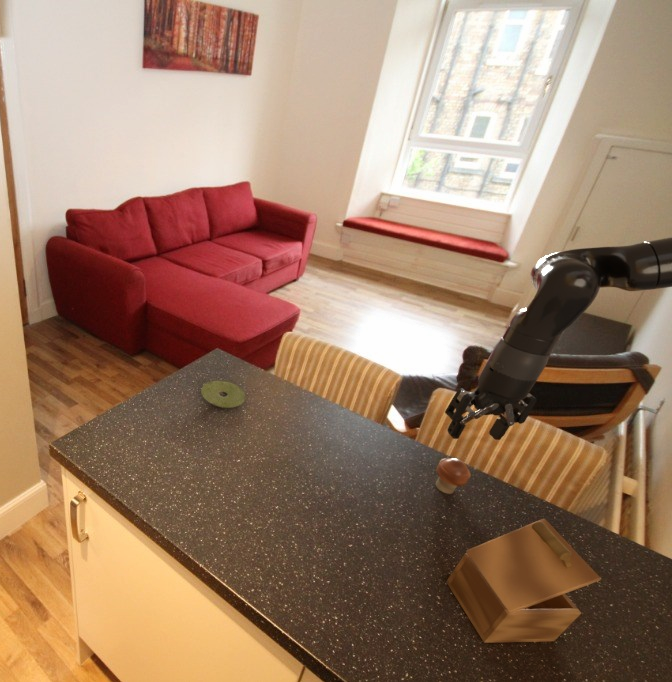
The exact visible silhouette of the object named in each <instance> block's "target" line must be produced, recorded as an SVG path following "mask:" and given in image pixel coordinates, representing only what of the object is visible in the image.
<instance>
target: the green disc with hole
mask: <svg viewBox="0 0 672 682" xmlns="http://www.w3.org/2000/svg"><path fill="white" fill-rule="evenodd" d="M200 390H201V391H200V392H201V395H202V397H203V399H204V400H205V401H206V402H208V403H210V404H211V405H213V406H216V407H219V408H225V409H227V408H228V409H229V408H236V407H239V406H241V405H242V404H244V403H245V401H246V393H245V392H244V390H243V389H242V388H241V386H238V385H237V384H235V383H232V382H229V381H226V380H211V381H208V382H206V383H205V384H203V386H201V389H200Z"/></svg>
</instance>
